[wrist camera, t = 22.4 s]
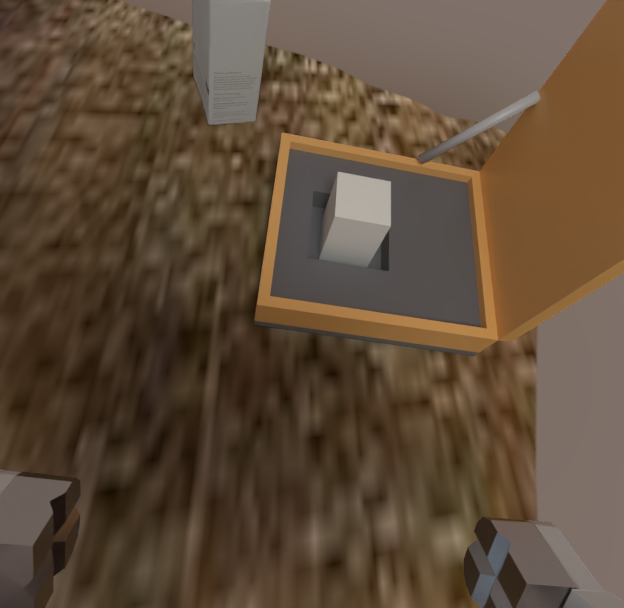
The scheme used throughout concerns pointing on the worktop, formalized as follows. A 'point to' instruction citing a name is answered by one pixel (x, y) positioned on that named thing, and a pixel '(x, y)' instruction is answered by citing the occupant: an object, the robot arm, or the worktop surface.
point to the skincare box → (229, 56)
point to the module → (355, 219)
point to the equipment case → (465, 219)
